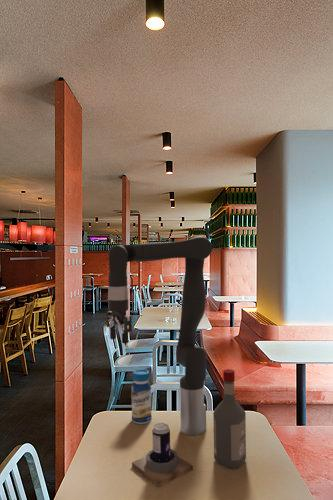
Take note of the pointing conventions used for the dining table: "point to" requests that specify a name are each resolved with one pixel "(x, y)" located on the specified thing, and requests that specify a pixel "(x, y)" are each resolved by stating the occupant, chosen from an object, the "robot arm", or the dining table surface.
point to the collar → (162, 466)
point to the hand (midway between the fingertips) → (118, 341)
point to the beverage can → (161, 443)
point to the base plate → (165, 477)
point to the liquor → (229, 427)
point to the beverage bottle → (141, 397)
